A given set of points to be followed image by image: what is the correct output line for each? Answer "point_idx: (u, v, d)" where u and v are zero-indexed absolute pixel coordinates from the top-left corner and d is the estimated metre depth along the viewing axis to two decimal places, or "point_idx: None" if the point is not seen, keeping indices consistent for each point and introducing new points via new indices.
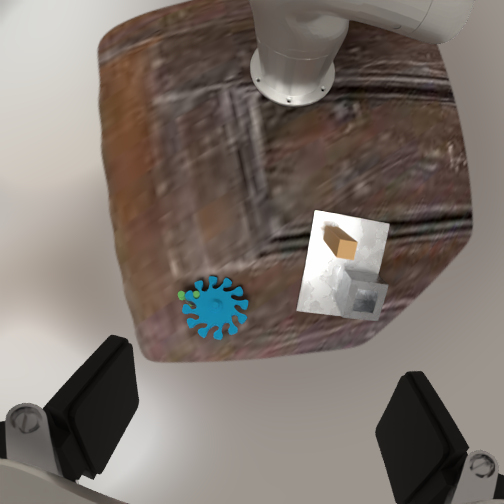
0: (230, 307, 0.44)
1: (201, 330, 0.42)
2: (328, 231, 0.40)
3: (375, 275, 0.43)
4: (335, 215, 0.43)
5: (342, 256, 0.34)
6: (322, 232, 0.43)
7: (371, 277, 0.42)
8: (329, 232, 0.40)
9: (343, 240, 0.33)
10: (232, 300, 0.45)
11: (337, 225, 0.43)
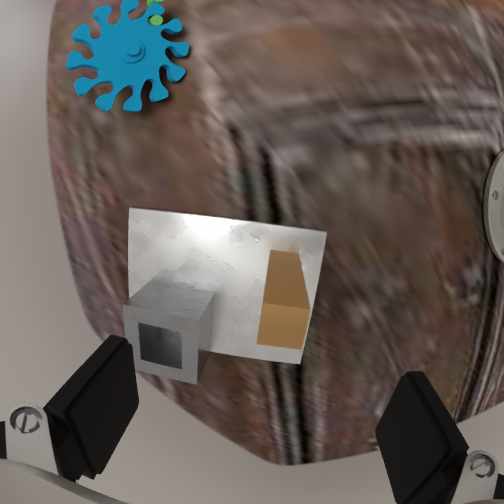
0: (127, 78, 0.18)
1: (84, 29, 0.14)
2: (295, 263, 0.20)
3: (208, 349, 0.24)
4: (317, 271, 0.23)
5: (265, 317, 0.13)
6: (284, 247, 0.23)
7: (205, 347, 0.23)
8: (295, 266, 0.19)
9: (306, 317, 0.13)
10: (141, 81, 0.18)
11: None
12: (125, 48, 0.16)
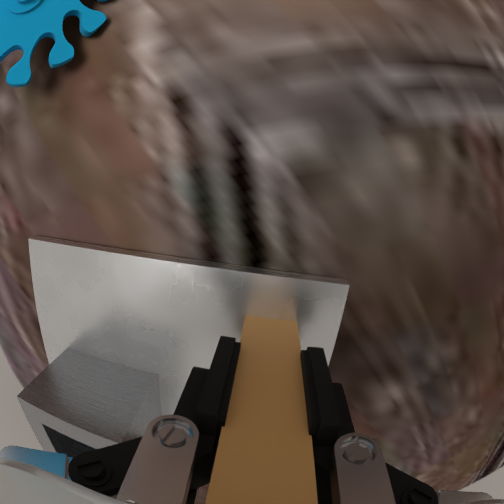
0: (14, 36, 0.07)
1: None
2: (290, 358, 0.10)
3: None
4: (328, 349, 0.13)
5: None
6: (271, 312, 0.12)
7: None
8: (291, 370, 0.09)
9: None
10: (33, 38, 0.08)
11: None
12: None
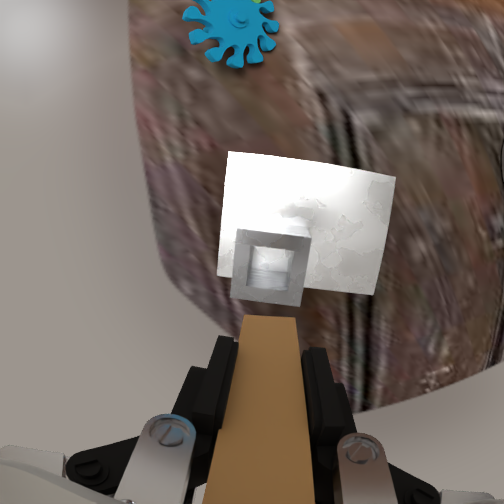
0: (234, 39, 0.21)
1: None
2: (288, 352, 0.10)
3: None
4: (389, 208, 0.26)
5: None
6: (364, 188, 0.26)
7: None
8: (288, 364, 0.09)
9: None
10: (244, 44, 0.22)
11: (375, 212, 0.27)
12: (235, 14, 0.19)
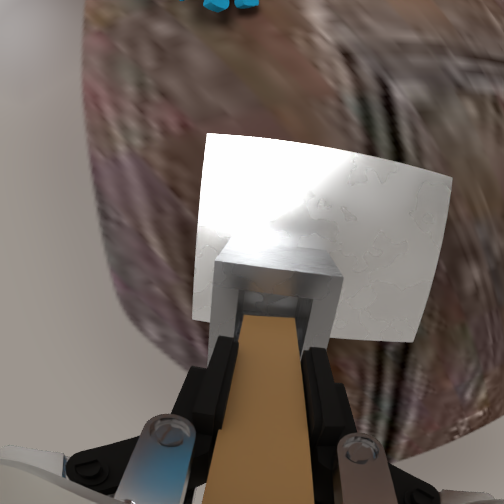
0: None
1: None
2: (287, 353, 0.10)
3: None
4: (443, 222, 0.17)
5: None
6: (412, 192, 0.16)
7: None
8: (288, 365, 0.09)
9: None
10: None
11: (425, 227, 0.17)
12: None
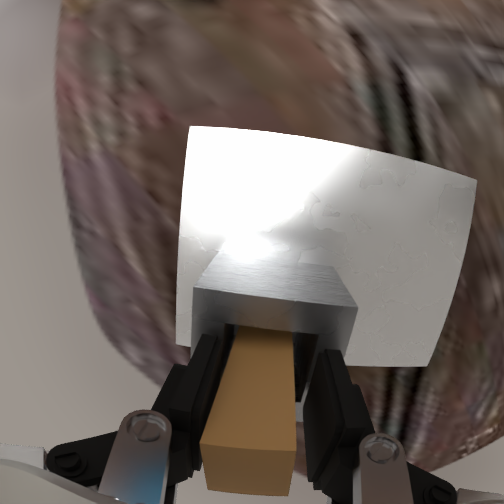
0: None
1: None
2: None
3: None
4: (466, 232, 0.14)
5: (211, 461, 0.06)
6: (434, 196, 0.13)
7: None
8: (281, 331, 0.12)
9: (290, 460, 0.06)
10: None
11: (446, 238, 0.14)
12: None
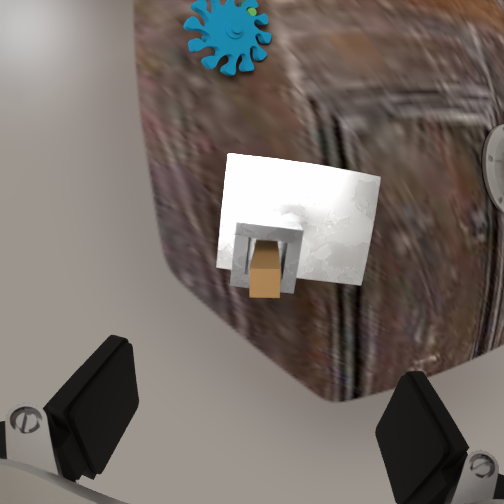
0: (229, 49, 0.24)
1: (203, 3, 0.20)
2: (273, 246, 0.28)
3: None
4: (374, 205, 0.29)
5: (252, 278, 0.21)
6: (352, 186, 0.29)
7: None
8: (273, 248, 0.27)
9: (279, 275, 0.21)
10: (237, 54, 0.24)
11: (361, 208, 0.29)
12: (231, 26, 0.22)
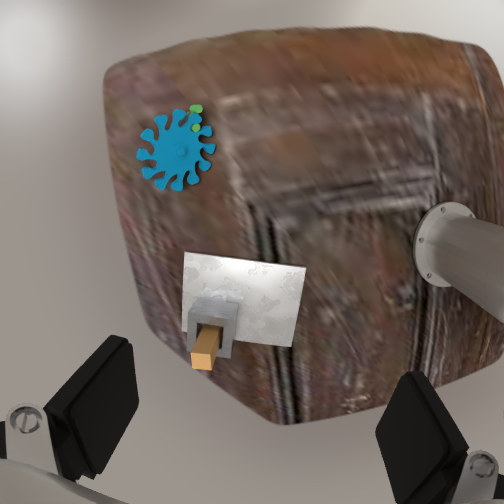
0: (175, 170, 0.34)
1: (150, 133, 0.30)
2: None
3: (234, 338, 0.40)
4: (300, 290, 0.39)
5: (193, 358, 0.31)
6: (281, 277, 0.39)
7: (234, 336, 0.39)
8: (216, 327, 0.37)
9: (209, 357, 0.31)
10: (183, 172, 0.34)
11: (289, 293, 0.39)
12: (176, 150, 0.32)
